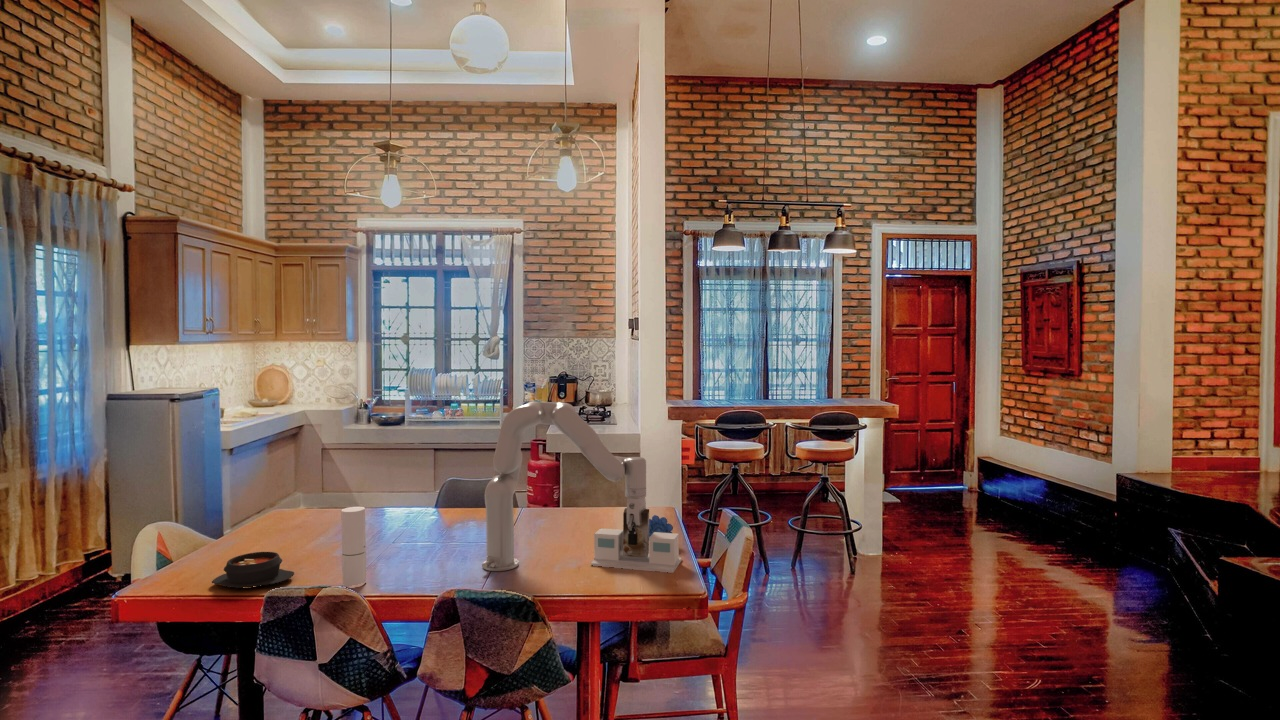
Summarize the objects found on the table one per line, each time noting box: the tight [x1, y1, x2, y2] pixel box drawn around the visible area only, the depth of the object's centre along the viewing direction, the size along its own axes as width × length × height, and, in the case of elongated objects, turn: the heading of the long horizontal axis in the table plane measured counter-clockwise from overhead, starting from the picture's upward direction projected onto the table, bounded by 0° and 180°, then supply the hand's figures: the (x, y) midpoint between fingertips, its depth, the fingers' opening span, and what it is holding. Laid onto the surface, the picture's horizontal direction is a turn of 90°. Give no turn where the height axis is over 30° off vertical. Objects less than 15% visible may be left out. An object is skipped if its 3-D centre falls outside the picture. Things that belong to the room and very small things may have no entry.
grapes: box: [649, 514, 674, 537], centre depth 259 cm, size 12×7×12 cm, turn 92°
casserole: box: [211, 551, 295, 589], centre depth 223 cm, size 25×19×8 cm
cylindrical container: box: [340, 506, 367, 587], centre depth 220 cm, size 7×7×25 cm
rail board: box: [590, 528, 683, 574], centre depth 239 cm, size 14×30×11 cm, turn 74°
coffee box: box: [622, 507, 650, 558], centre depth 239 cm, size 9×6×16 cm
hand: (635, 541), depth 239 cm, fingers closed on coffee box, 7 cm apart
